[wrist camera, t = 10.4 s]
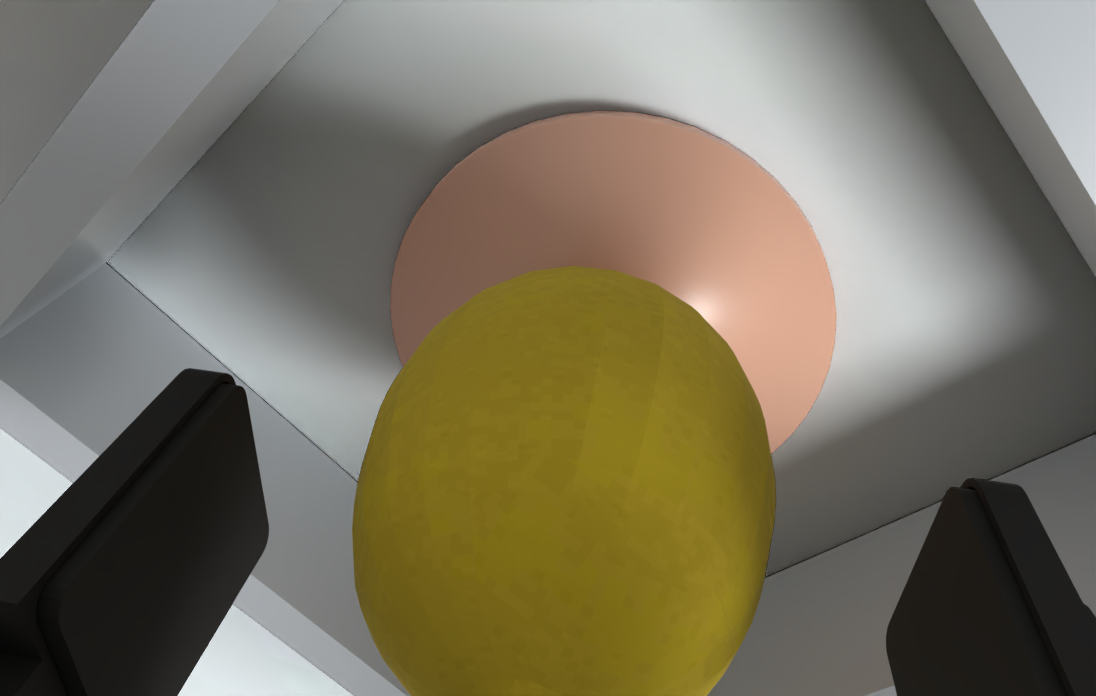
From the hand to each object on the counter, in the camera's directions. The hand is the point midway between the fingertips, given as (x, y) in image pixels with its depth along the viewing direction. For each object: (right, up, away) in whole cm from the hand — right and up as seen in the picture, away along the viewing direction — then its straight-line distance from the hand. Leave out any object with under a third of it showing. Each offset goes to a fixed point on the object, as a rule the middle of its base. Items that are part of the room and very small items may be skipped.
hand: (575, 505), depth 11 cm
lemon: (+1, +3, +4) cm, 5 cm away
